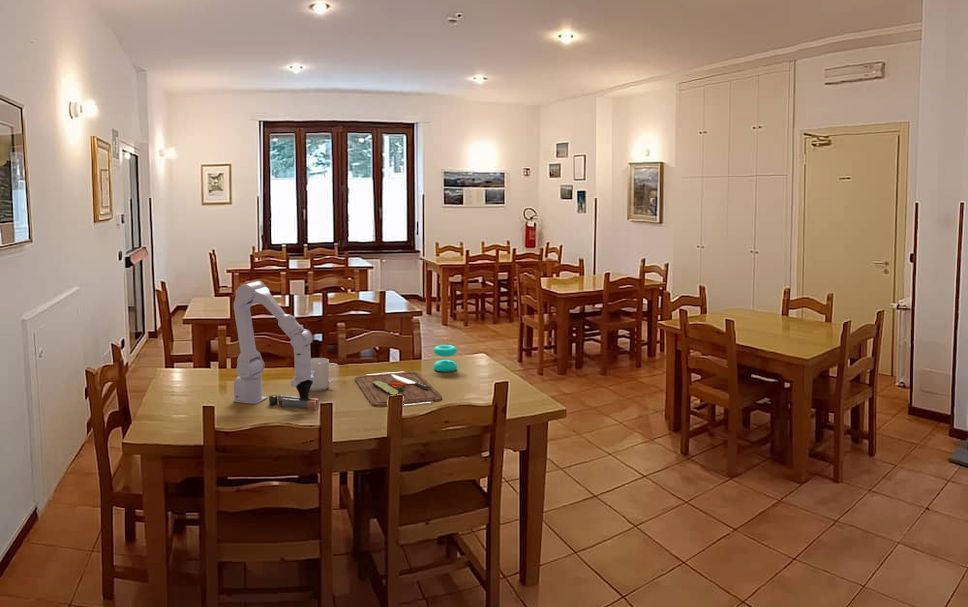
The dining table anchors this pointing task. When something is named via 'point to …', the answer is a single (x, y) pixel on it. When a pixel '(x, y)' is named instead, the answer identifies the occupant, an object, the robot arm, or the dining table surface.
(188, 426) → the dining table surface
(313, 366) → the mug
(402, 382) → the chopping board
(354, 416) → the dining table surface
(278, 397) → the bar
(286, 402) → the base
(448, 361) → the donuts
